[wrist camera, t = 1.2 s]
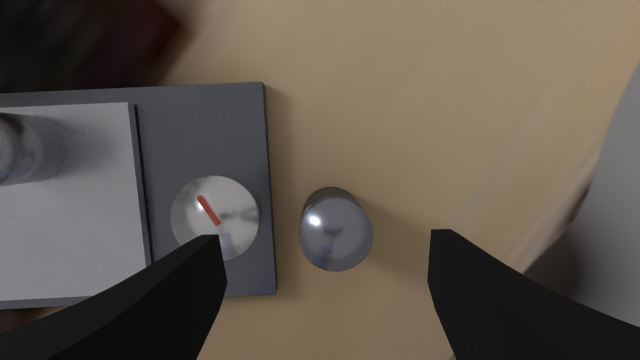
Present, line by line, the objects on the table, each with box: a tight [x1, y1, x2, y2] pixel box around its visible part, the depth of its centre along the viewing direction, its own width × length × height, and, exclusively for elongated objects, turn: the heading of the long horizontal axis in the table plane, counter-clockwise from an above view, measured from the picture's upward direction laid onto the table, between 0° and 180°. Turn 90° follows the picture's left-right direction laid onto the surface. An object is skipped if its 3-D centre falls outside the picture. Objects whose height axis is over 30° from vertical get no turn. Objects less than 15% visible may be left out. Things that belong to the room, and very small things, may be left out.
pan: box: [0, 102, 151, 301], centre depth 21 cm, size 12×12×1 cm
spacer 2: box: [299, 187, 373, 272], centre depth 20 cm, size 4×4×5 cm
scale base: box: [0, 82, 278, 309], centre depth 21 cm, size 14×20×2 cm
